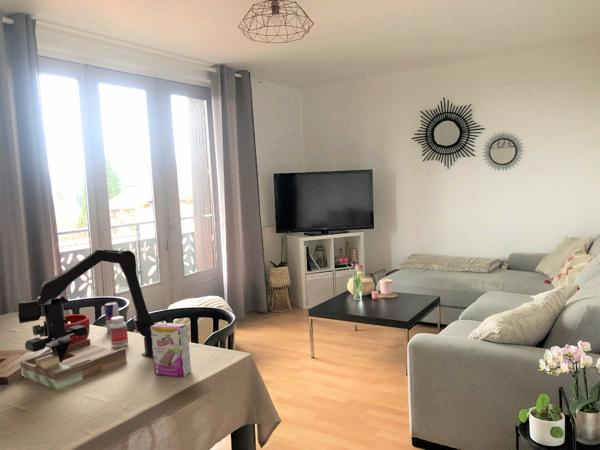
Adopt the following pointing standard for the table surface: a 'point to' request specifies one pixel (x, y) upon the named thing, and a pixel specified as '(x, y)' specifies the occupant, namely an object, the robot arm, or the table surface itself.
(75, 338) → the plant pot
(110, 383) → the table surface
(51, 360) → the maple block
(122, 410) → the table surface
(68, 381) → the box
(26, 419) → the table surface
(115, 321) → the pill bottle
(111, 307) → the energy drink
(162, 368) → the candy bar box
